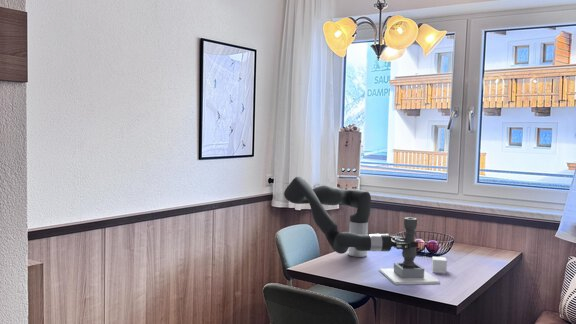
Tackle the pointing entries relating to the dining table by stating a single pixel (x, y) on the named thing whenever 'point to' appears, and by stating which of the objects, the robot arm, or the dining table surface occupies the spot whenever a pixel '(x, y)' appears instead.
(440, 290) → the dining table surface
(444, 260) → the white cube
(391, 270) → the collar board
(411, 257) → the candle holder
